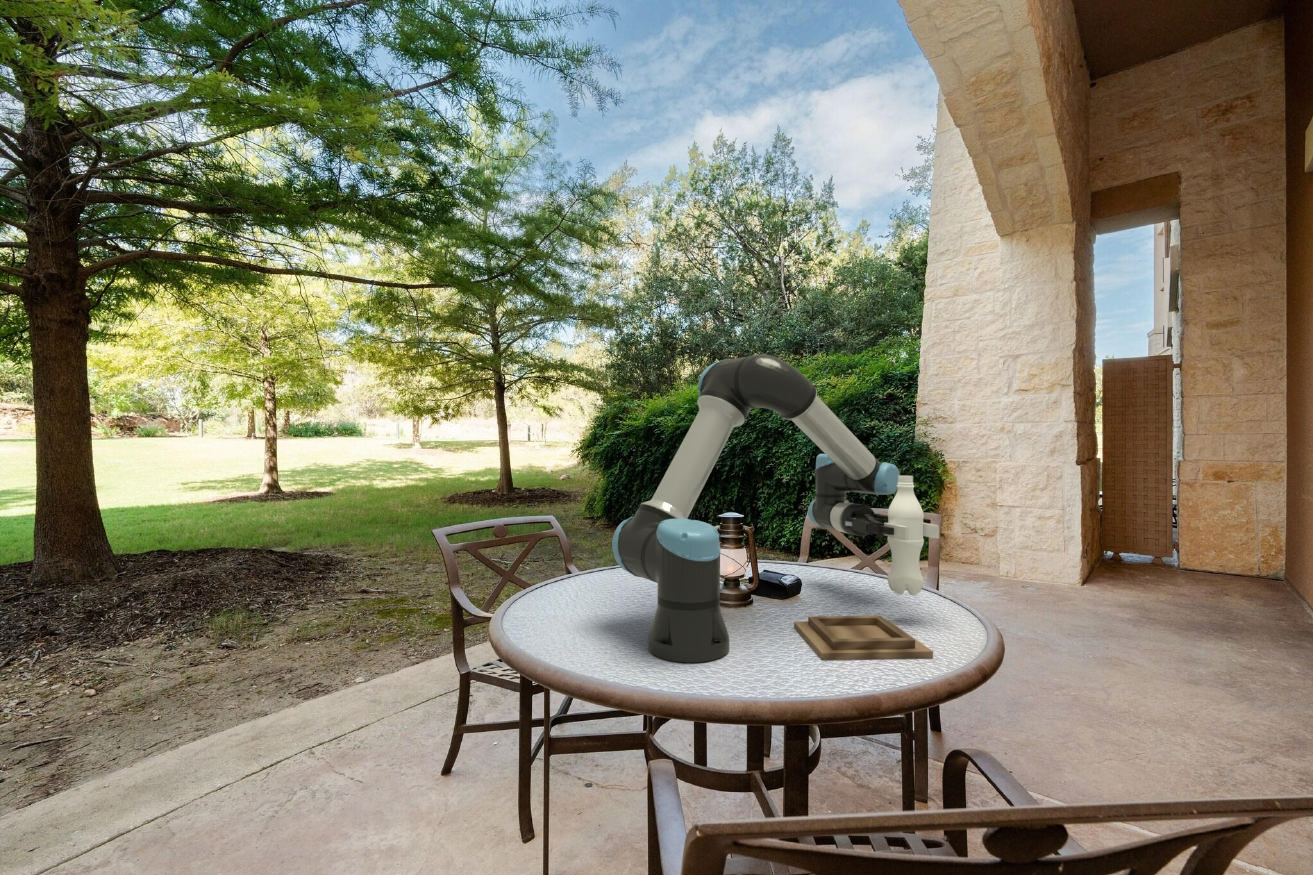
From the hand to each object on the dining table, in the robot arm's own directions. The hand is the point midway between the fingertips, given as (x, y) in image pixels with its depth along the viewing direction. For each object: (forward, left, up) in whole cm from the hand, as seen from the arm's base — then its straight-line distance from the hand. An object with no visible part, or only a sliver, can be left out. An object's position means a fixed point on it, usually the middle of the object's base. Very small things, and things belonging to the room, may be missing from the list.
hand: (922, 532), depth 121 cm
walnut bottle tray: (-16, -7, -20) cm, 27 cm away
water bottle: (-1, +5, -14) cm, 15 cm away
